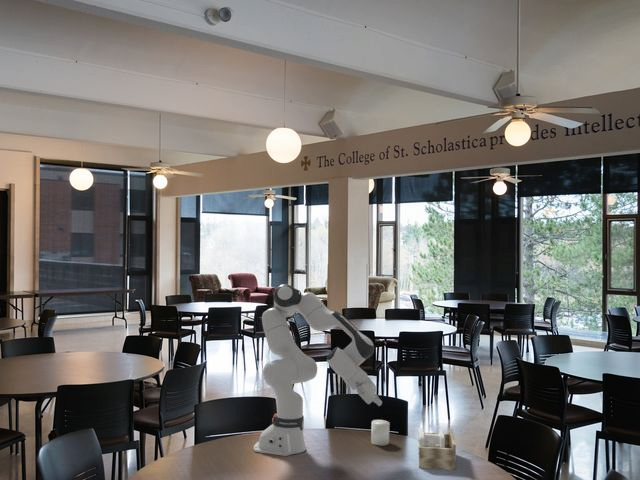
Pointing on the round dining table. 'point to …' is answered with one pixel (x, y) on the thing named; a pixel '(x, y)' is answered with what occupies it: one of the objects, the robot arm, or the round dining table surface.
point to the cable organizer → (431, 439)
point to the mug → (380, 432)
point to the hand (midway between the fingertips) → (381, 404)
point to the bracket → (439, 454)
